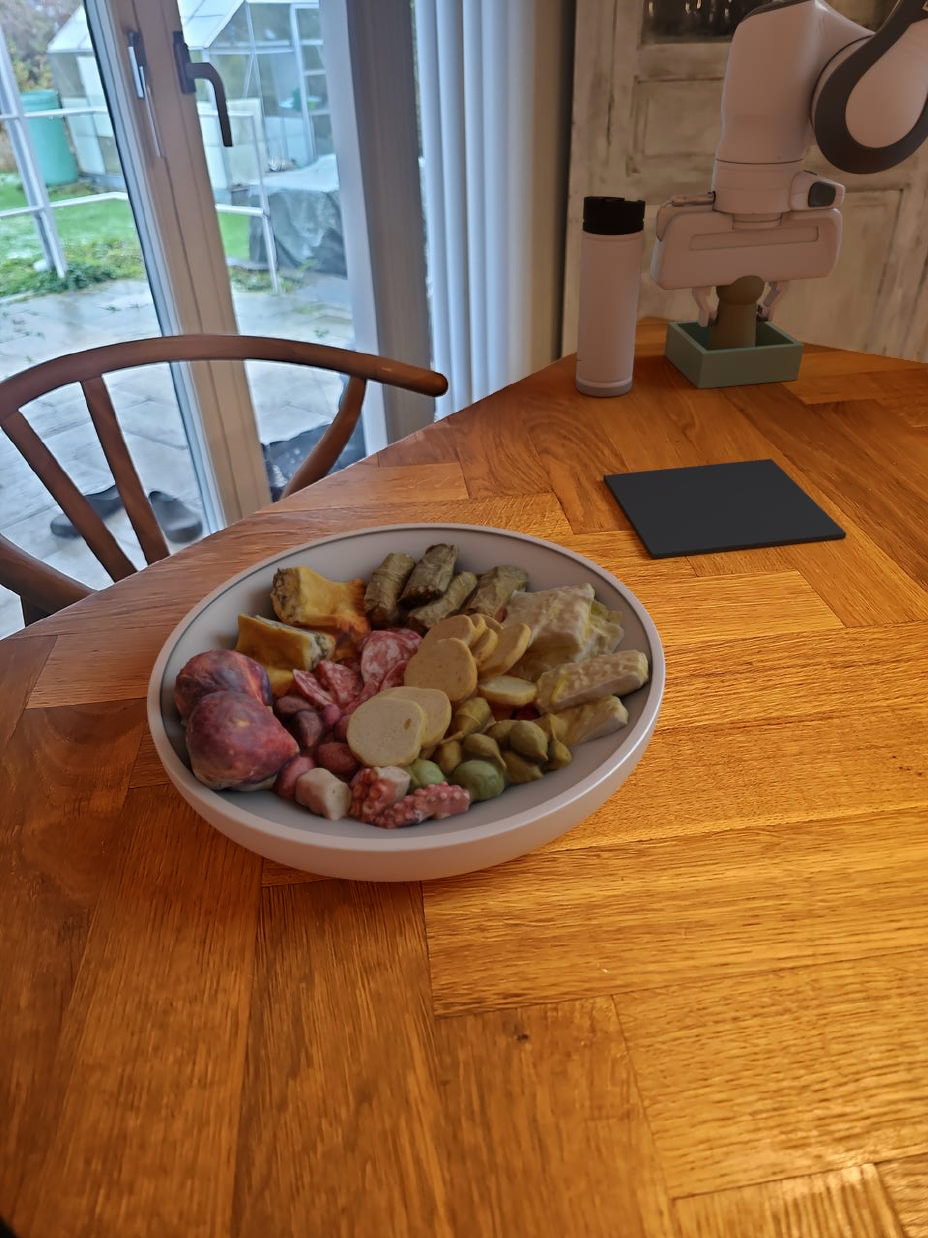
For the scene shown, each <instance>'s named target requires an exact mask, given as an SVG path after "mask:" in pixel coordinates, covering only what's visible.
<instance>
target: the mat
mask: <svg viewBox="0 0 928 1238" xmlns="http://www.w3.org/2000/svg"><path fill="white" fill-rule="evenodd" d="M603 481H604V483H605V485H606V487H607V488H608V489H609V491H610V493H611V495H612V496H613V498H614V499H615V502H616V503H617V505H618V506H619V508H620V510H621V511H622V513H623V514H624V515H625V518H626V519H627V521H628V522H629V524H630V526H631V528H632V529H633V531H634V533H635V534H636V536H637V538H638V539H639V541H640V543H641V544H642V546H643V547H644V549H645V551H646V552H647V554H648V556H649V557H650V559H651V560H659V559H667V558H668V559H669V558H677V557H687V556H697V555H705V554H712V553H713V554H714V553H722V552H723V553H724V552H734V551H741V550H749V549H750V550H751V549H761V548H770V547H779V546H787V545H797V544H806V543H816V542H824V541H825V542H826V541H833V540H841V539H846V537H847V532H846V531H845V530H844V529H843V528H842V527H841V526H840V525H839V524H838V523H837V522H836V521H835V520H834V519H833V518H832V517H831V516H830V515H828V513H827V512H826V511H824V509H823V508H821V506H820V505H819V504H818V503H816V501H815V500H814V499H813V498H812V497H811V496H810V495H809V494H808V493H807V492H806V491H805V490H804V489H803V488H801V486H800V485H798V483H796V481H795V480H794V479H792V478H791V477H790V476H789V475H788V474H787V473H786V471H784V470H783V469H782V468H781V467H780V466H779V465H778V464H777V463H776V462H775V461H774V459H772V458H765V459H753V460H746V461H745V460H744V461H735V462H734V461H733V462H725V463H724V462H723V463H714V464H704V465H694V466H693V465H692V466H684V467H675V468H664V469H653V470H643V471H633V472H625V473H622V472H621V473H614V474H604V475H603Z"/></svg>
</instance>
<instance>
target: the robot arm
mask: <svg viewBox="0 0 928 1238" xmlns="http://www.w3.org/2000/svg"><path fill="white" fill-rule="evenodd" d="M727 57H728V58H727V62H726V68H725V72H724V73H725V74H724V80H723V88H722V95H721V101H720V116H721V134H720V139H719V141H718V145H717V147H716V149H715V153H714V160H713V169H712V178H711V185H710V191H704V192H697V193H691V194H685V193H677V194H673V195H671V197H670V199H667V200H666V201H664V202H662V204H661V205H660V206H659V208H658V209H657V211H656V213H655V226H654V232H655V233H654V234H655V236H656V237H655V243H654V247H653V252H652V257H651V263H650V270H649V271H650V273H649V275H650V278H651V280H652V281H653V282H654V284H655V285H657V287H659V288H660V289H661V290H663V291H673V290H683V289H691V295H692V296H693V299H694V301H695V303H696V306H697V308H698V317H697V320H698V324H699V325H700V326H701V327H709V326H715V325H716V320H715V319H716V317H717V309H715V308H714V307H713V306H709V303H708V301H707V297H710V296H711V293H712V287H716V286H724V285H730V284H732V283H733V282H734V281H735V280H737V279H738V278H740V277H743V276H749V275H754V276H758V277H760V278H761V279H762V280H763V282H765V283H768V284H767V286H768V287H769V288H770V290H769V292H768V293H767V295H766V296H765V298H764V299H763V301H762V302H757V305H756V321H758V322H772V321H773V320H774V314H775V308H776V307H777V306H778V304H779V303H780V301H781V300H782V299H783V297H785V295H786V293H787V292H788V290H789V285H790V281H798V280H810V279H821V278H822V279H824V278H827V277H829V275H831V273H832V272H833V271H834V270H835V268H836V267H837V264H838V262H839V261H838V260H839V256H840V251H841V244H842V236H843V225H844V224H843V223H844V221H843V216H842V213H841V211H839V209H838V208H839V207H840V206H841V205H842V204H843V203H844V199H845V196H846V187H845V186H844V185H842V184H841V183H839V182H836V181H835V180H832V179H831V178H826V177H823V176H821V175H818V173H816V172H814V171H811V170H806V169H804V163H805V156H806V151H807V149H808V148H809V147H812V146H817V147H818V149H819V151H820V152H821V155H822V156H823V157H824V159H826V161H827V162H829V164H830V165H832V166H833V167H834V168H836V169H838V170H840V171H842V172H844V173H848V174H851V175H860V176H861V175H873V174H878V173H881V172H885V171H887V170H889V169H892V168H894V167H896V166H898V165H900V164H901V163H903V162H904V161H905V160H907V159H908V158H909V157H910V156H912V155H913V154H914V153H916V151H917V150H918V149H919V148H920V147H921V146H922V145H923V144H924V142H925V141H926V140H927V138H928V0H897V2H896V4H895V5H894V7H893V8H892V11H891V12H890V14H889V16H888V17H887V18H886V20H885V21H884V22H883V24H882V25H881V26H880V27H879V29H878V30H876V32H875V31H873V30H872V29H871V30H870V29H868V28H865V27H863V26H862V25H860V24H858V23H856V22H854V21H852V20H850V19H849V18H847V17H846V16H844V15H843V14H841V13H840V12H839V11H837V10H836V9H834V8H833V7H832V6H831V5H830V4H829V3H828V2H826V0H776V1H772V2H768V3H767V4H763V5H759V6H757V7H756V8H754V9H752V10H751V11H750V12H748V13H747V14H746V15H745V16H744V17H743V18H742V19H741V21H740V22H739V24H738V25H737V26H736V29H735V31H734V33H733V37H732V40H731V44H730V49H729V52H728V56H727Z"/></svg>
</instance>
